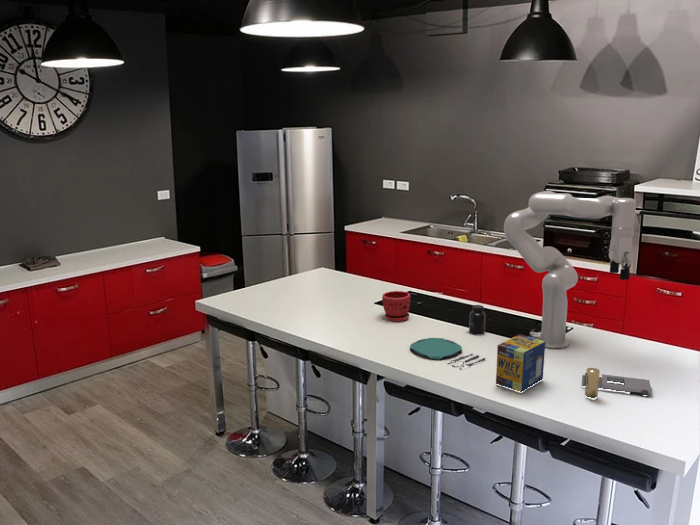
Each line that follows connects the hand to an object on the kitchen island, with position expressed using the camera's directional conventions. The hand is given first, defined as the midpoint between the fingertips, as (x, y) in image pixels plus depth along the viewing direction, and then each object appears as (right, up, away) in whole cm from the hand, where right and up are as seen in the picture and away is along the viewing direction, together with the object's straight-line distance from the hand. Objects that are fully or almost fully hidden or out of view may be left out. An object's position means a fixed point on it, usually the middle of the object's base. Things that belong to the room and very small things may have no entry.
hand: (619, 276), depth 236 cm
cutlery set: (-64, -33, +16) cm, 73 cm away
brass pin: (-20, -41, -23) cm, 51 cm away
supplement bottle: (-46, -26, +39) cm, 66 cm away
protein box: (-41, -38, -11) cm, 57 cm away
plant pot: (-80, -21, +59) cm, 102 cm away
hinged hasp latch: (-8, -39, -16) cm, 43 cm away
